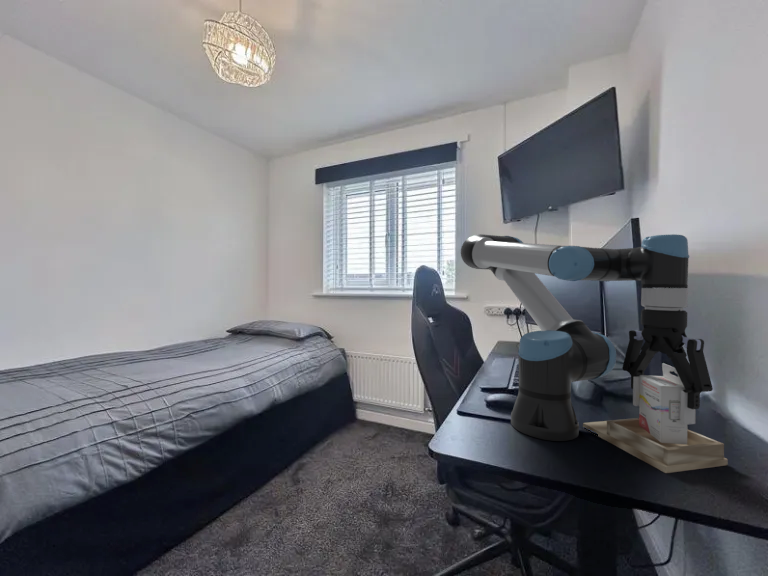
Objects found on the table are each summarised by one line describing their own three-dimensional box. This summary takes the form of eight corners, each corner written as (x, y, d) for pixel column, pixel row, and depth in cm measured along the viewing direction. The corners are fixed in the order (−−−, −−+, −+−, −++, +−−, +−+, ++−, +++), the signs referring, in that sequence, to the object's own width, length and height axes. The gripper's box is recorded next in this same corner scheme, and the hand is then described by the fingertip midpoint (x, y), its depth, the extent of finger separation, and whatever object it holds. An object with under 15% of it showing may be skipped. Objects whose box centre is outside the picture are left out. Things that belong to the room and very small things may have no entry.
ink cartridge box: (637, 425, 76) (638, 361, 76) (662, 427, 75) (663, 362, 75) (660, 443, 67) (661, 370, 67) (688, 445, 66) (690, 372, 66)
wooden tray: (582, 427, 82) (583, 410, 82) (633, 423, 85) (633, 406, 85) (665, 473, 63) (666, 451, 63) (727, 465, 66) (728, 444, 66)
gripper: (742, 312, 61) (739, 435, 61) (630, 305, 82) (629, 395, 83) (709, 313, 59) (707, 439, 59) (604, 305, 81) (603, 397, 81)
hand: (661, 413), depth 71 cm, fingers closed on ink cartridge box, 9 cm apart
